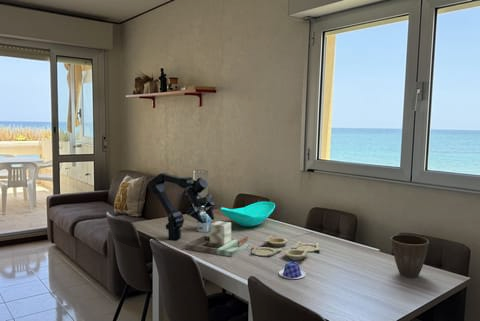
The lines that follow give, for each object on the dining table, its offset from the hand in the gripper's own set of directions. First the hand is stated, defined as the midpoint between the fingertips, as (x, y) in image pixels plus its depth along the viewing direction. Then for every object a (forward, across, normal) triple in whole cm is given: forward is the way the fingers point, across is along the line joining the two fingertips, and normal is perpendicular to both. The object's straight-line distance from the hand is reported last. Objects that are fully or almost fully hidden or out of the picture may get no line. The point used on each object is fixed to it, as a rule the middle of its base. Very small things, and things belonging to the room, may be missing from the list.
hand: (208, 221), depth 207 cm
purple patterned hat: (+45, -12, -36) cm, 59 cm away
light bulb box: (-2, +25, +27) cm, 37 cm away
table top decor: (+8, +49, +12) cm, 51 cm away
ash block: (+12, +4, +2) cm, 13 cm away
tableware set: (+35, +16, -23) cm, 45 cm away
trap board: (+14, 0, +4) cm, 15 cm away
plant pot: (+71, +14, -71) cm, 101 cm away
